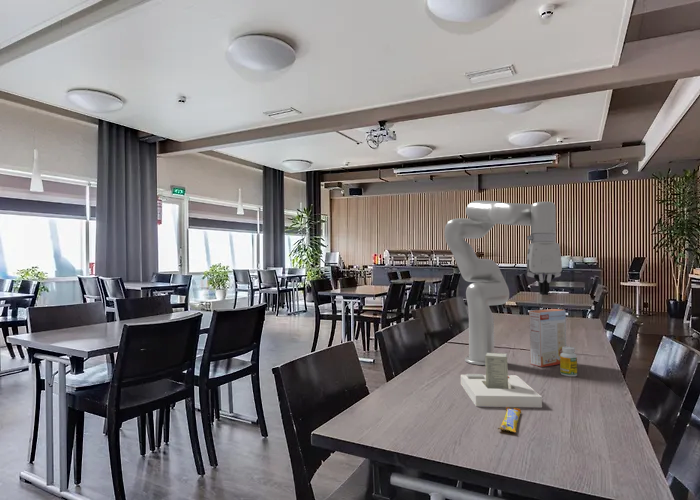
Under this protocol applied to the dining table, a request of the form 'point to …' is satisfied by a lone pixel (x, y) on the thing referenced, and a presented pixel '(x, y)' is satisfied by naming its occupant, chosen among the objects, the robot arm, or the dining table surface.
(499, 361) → the skincare box
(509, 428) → the candy bar
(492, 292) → the robot arm
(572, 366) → the supplement bottle
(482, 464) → the dining table surface
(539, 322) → the cracker box
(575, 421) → the dining table surface
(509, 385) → the socket plate
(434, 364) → the dining table surface
